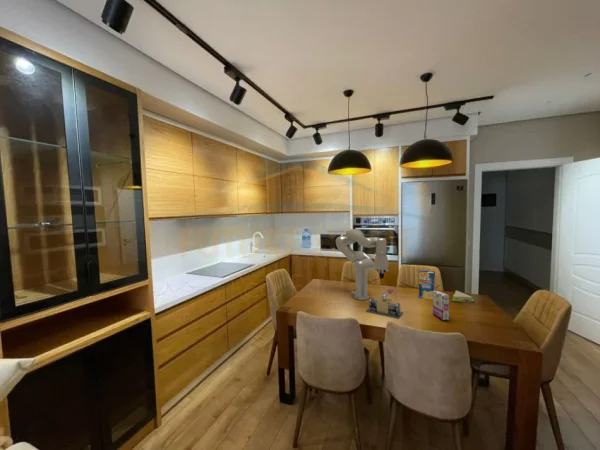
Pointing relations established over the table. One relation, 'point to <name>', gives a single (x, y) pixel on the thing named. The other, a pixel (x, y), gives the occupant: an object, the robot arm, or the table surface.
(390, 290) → the valve lever
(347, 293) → the table surface
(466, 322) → the table surface
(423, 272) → the blue cereal box
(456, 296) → the sandwich
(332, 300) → the table surface
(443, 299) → the candy bar box
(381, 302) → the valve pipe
